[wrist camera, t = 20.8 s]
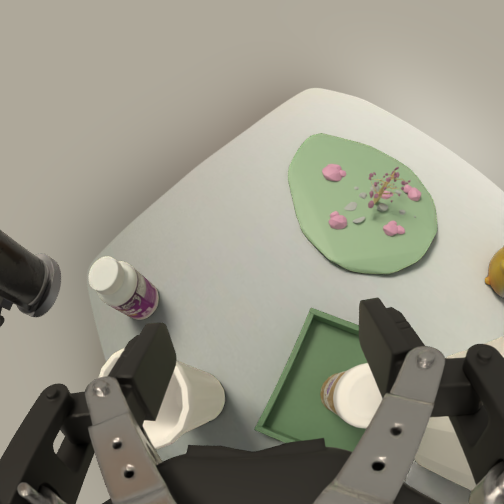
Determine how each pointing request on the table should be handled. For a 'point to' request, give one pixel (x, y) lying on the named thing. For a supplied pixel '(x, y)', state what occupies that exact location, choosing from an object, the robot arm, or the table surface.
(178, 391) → the cup
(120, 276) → the pill bottle
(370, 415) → the sprinkles bottle
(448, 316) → the table surface
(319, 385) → the green tray
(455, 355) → the container
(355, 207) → the plant
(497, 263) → the mug
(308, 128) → the table surface
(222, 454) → the robot arm
